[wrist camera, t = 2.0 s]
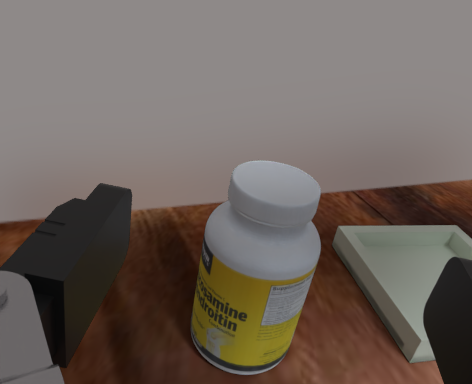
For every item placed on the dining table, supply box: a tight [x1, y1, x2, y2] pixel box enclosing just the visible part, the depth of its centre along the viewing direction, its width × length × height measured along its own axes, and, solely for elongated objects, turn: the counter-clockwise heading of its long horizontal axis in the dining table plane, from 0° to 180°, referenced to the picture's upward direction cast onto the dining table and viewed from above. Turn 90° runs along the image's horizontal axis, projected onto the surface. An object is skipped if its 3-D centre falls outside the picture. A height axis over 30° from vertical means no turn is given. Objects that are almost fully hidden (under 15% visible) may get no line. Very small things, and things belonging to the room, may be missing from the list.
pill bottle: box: [191, 160, 321, 375], centre depth 25 cm, size 6×6×12 cm
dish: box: [332, 225, 472, 363], centre depth 35 cm, size 12×12×2 cm
